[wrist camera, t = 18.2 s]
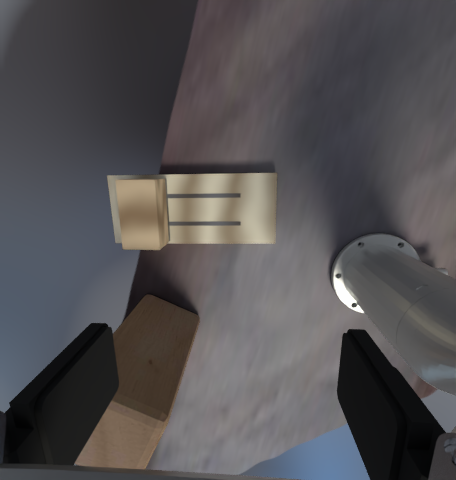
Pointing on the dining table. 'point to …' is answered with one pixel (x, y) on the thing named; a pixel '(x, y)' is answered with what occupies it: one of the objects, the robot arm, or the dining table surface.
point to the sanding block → (143, 213)
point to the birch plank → (214, 207)
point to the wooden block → (142, 384)
